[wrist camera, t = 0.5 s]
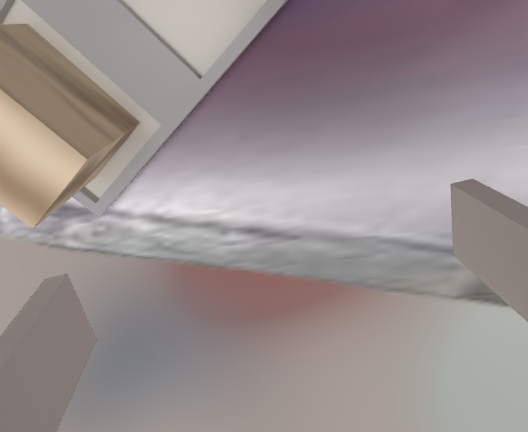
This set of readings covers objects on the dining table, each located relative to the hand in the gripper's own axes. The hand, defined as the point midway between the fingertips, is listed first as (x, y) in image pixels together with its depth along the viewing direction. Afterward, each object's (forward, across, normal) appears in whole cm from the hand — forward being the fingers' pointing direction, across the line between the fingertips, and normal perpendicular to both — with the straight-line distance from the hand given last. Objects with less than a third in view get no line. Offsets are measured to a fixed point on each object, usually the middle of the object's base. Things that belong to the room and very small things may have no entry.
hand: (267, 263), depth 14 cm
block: (+25, -14, +5) cm, 29 cm away
